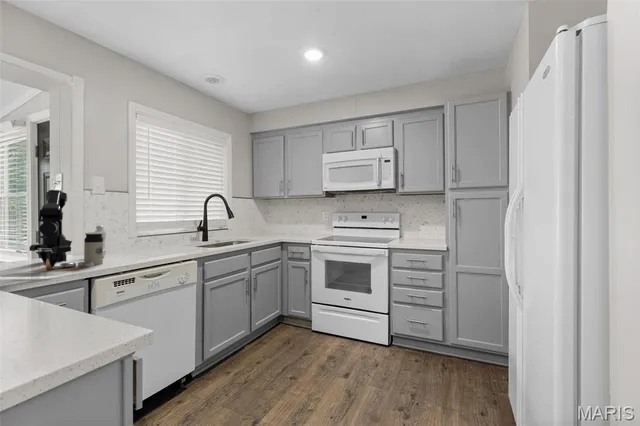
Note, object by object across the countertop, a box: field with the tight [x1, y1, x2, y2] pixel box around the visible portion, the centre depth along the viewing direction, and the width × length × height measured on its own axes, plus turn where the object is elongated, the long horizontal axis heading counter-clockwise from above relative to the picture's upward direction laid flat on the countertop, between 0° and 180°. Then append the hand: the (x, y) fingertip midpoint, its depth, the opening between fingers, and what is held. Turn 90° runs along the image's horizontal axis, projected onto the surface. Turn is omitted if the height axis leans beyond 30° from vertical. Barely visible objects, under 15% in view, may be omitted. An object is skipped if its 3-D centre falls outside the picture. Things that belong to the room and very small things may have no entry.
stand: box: [27, 261, 95, 273], centre depth 148 cm, size 21×14×3 cm, turn 99°
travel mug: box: [83, 231, 104, 266], centre depth 161 cm, size 8×8×18 cm
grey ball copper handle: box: [45, 258, 77, 270], centre depth 148 cm, size 12×6×6 cm, turn 163°
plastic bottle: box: [94, 225, 107, 258], centre depth 193 cm, size 6×7×20 cm
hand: (50, 266), depth 144 cm, fingers closed on grey ball copper handle, 3 cm apart
